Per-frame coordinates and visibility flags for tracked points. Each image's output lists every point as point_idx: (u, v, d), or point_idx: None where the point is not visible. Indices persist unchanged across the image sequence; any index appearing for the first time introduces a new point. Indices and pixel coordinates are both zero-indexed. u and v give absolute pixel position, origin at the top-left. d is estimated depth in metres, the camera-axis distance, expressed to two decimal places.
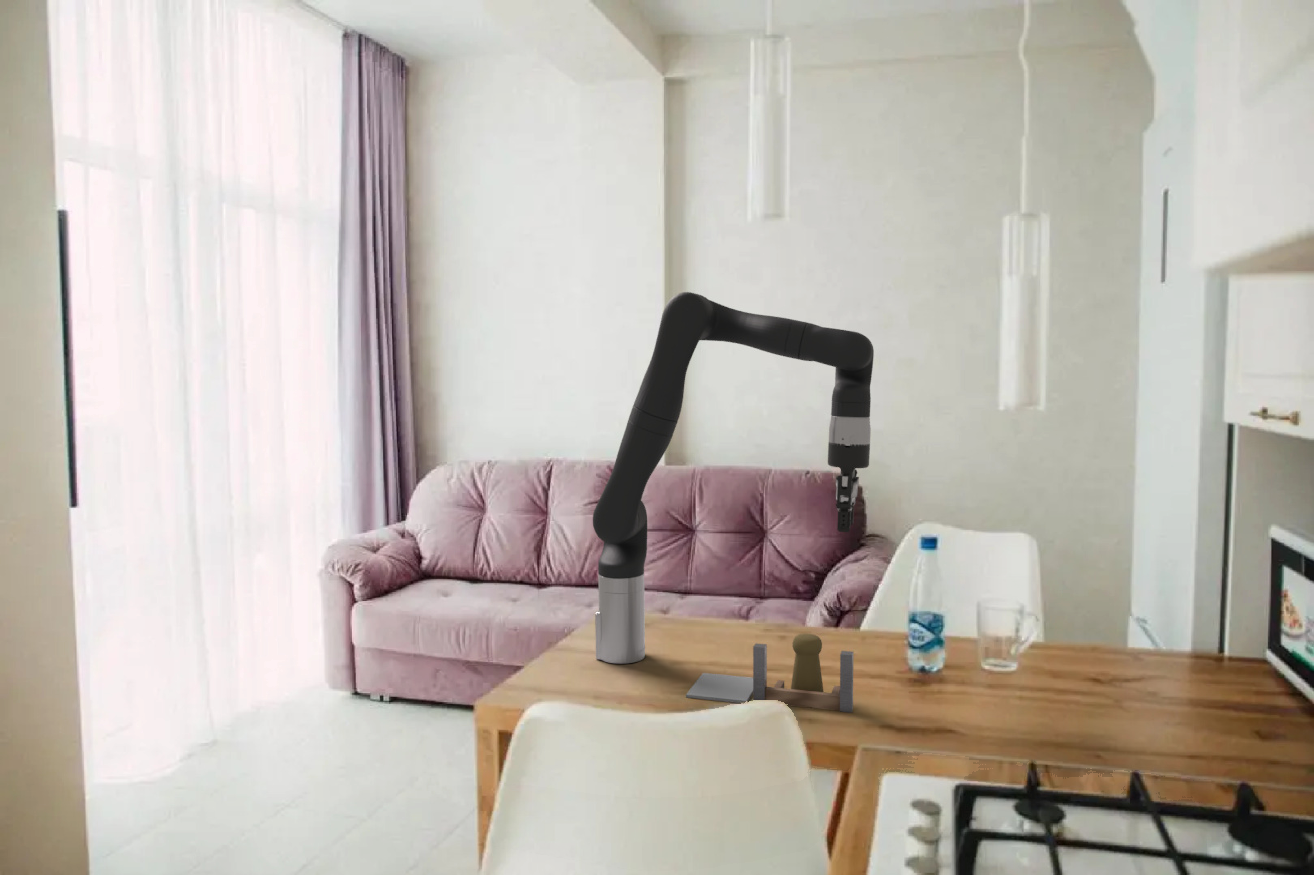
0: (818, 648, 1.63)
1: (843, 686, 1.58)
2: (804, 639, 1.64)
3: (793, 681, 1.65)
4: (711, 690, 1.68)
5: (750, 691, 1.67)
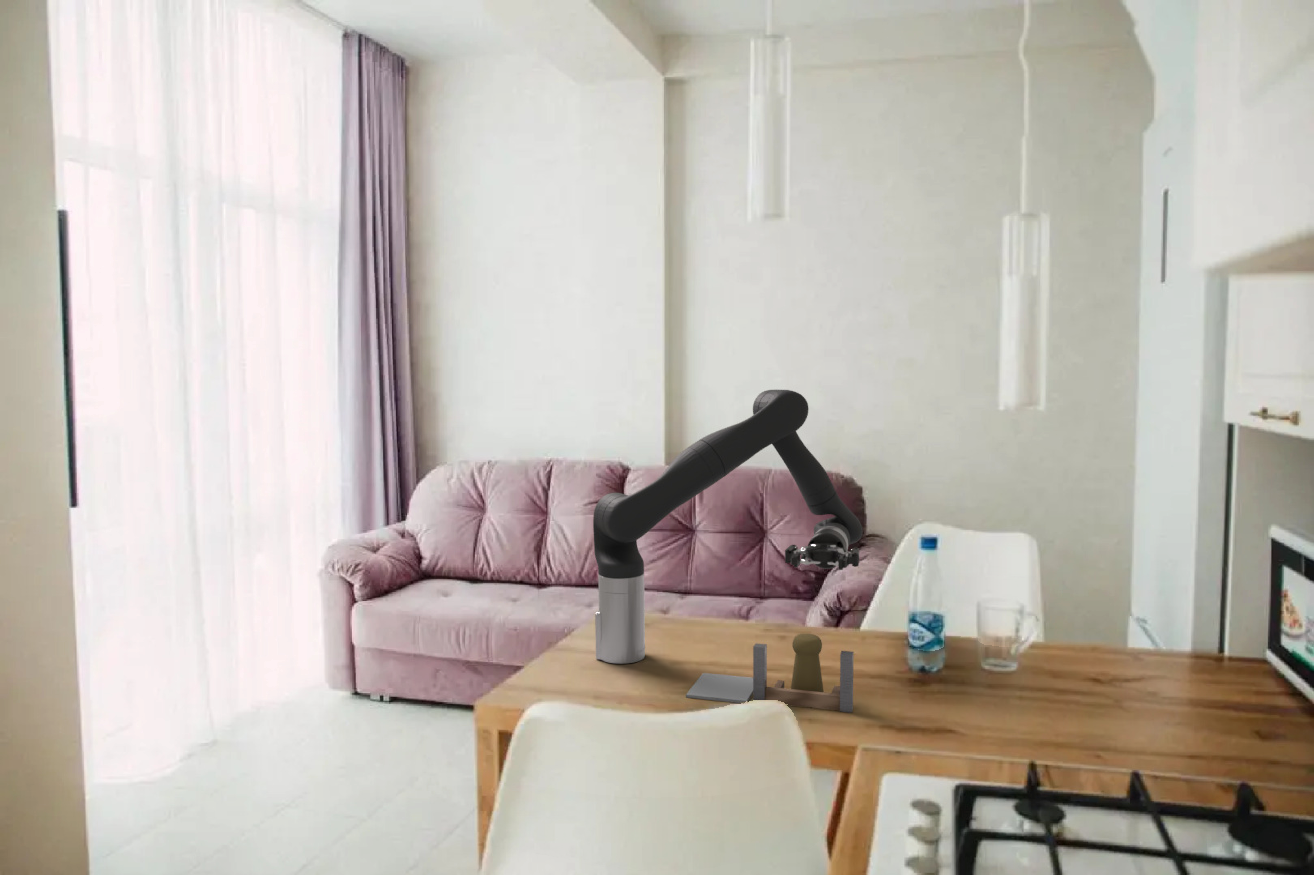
0: (818, 648, 1.63)
1: (843, 686, 1.58)
2: (804, 639, 1.64)
3: (793, 681, 1.65)
4: (711, 690, 1.68)
5: (750, 691, 1.67)
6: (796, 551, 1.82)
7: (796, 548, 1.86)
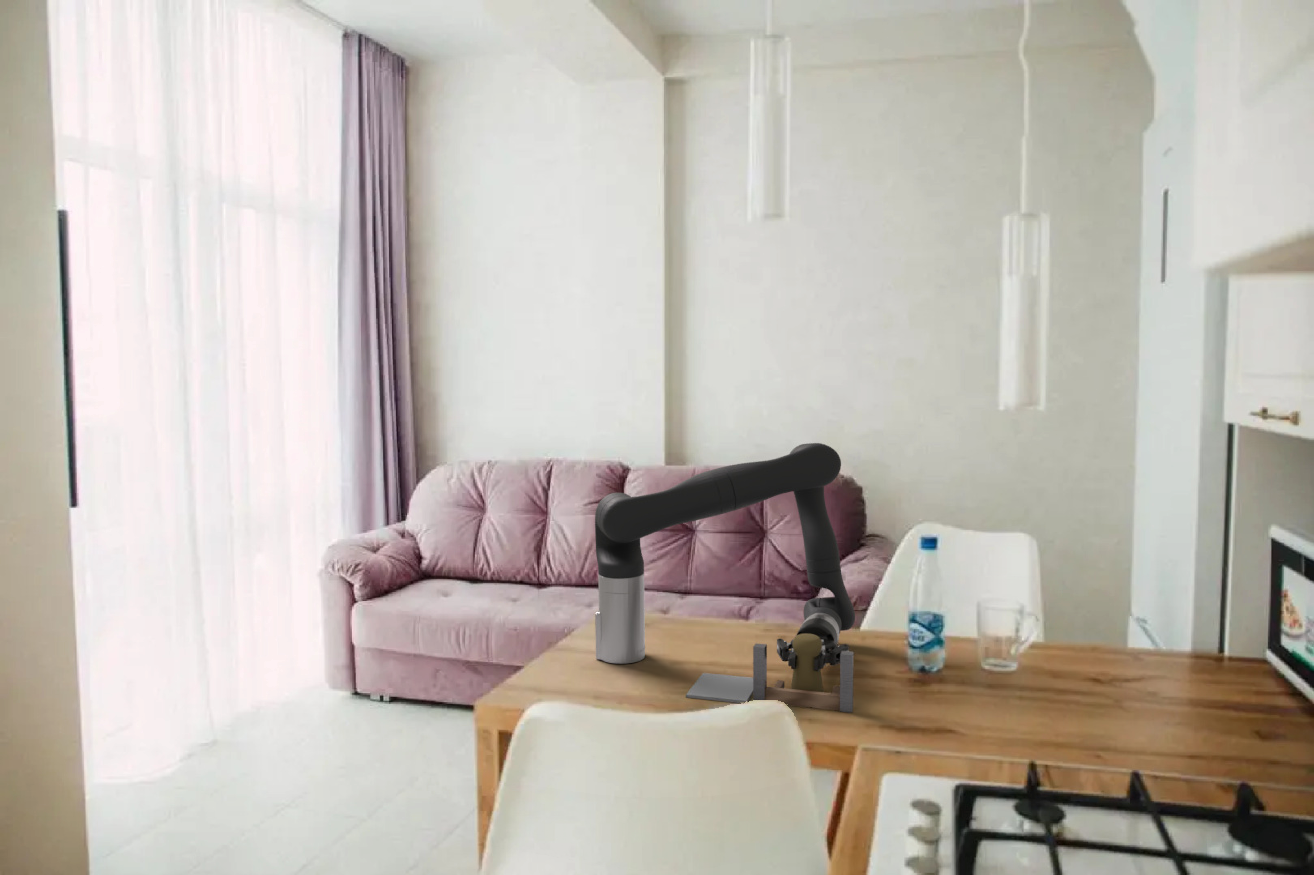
0: (818, 648, 1.63)
1: (843, 686, 1.58)
2: (804, 639, 1.64)
3: (793, 681, 1.65)
4: (711, 690, 1.68)
5: (750, 691, 1.67)
6: None
7: (786, 643, 1.73)
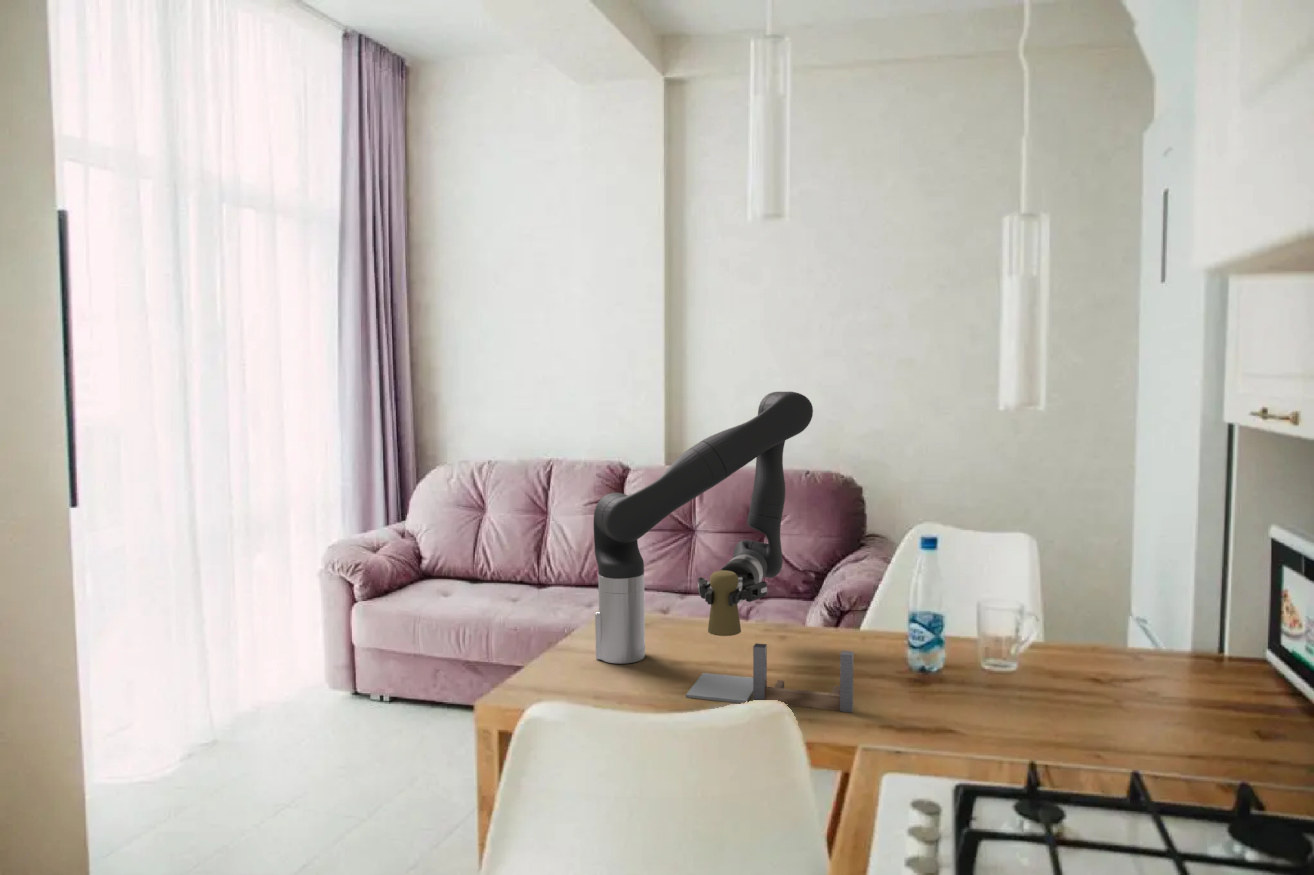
0: (734, 583, 1.66)
1: (843, 686, 1.58)
2: (721, 575, 1.66)
3: (710, 617, 1.68)
4: (711, 690, 1.68)
5: (750, 691, 1.67)
6: None
7: (706, 581, 1.75)
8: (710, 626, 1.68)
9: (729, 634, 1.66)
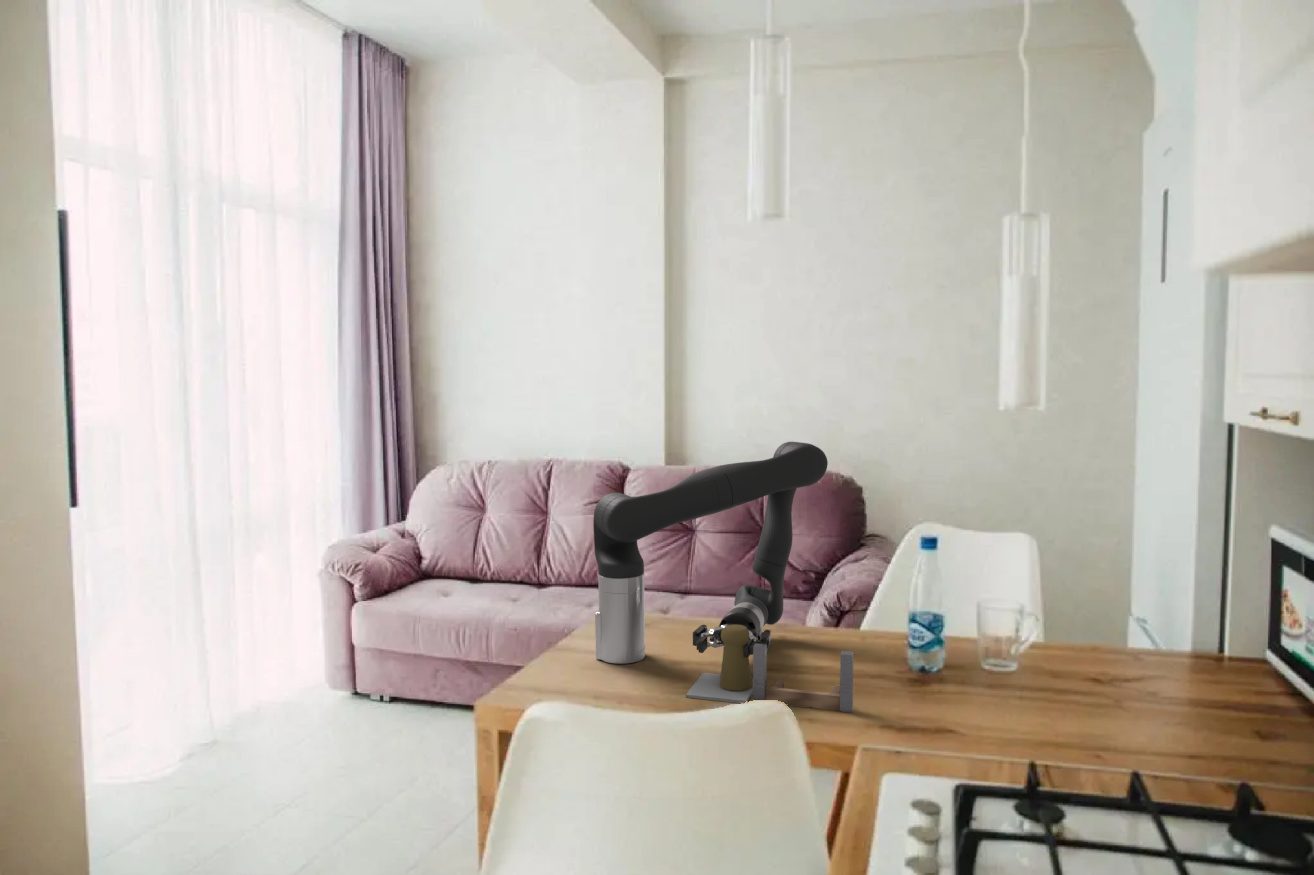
0: (746, 637, 1.68)
1: (843, 686, 1.58)
2: (732, 629, 1.68)
3: (722, 671, 1.69)
4: (711, 690, 1.68)
5: (750, 691, 1.67)
6: (703, 634, 1.74)
7: (706, 629, 1.78)
8: (722, 681, 1.69)
9: (741, 688, 1.67)
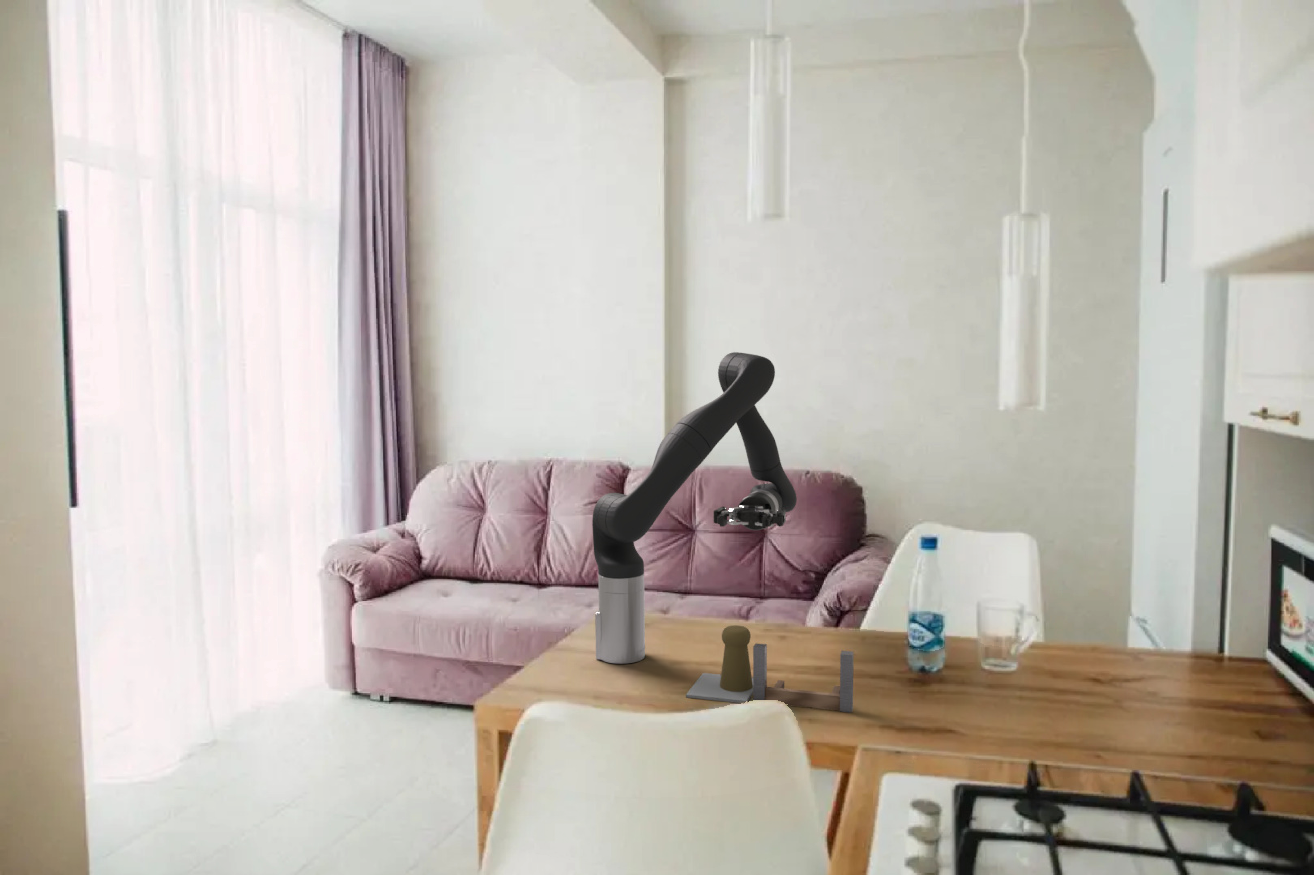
0: (747, 639, 1.67)
1: (843, 686, 1.58)
2: (733, 630, 1.67)
3: (723, 672, 1.69)
4: (711, 690, 1.68)
5: (750, 691, 1.67)
6: (724, 511, 1.88)
7: (725, 509, 1.92)
8: (722, 681, 1.69)
9: (741, 690, 1.67)
